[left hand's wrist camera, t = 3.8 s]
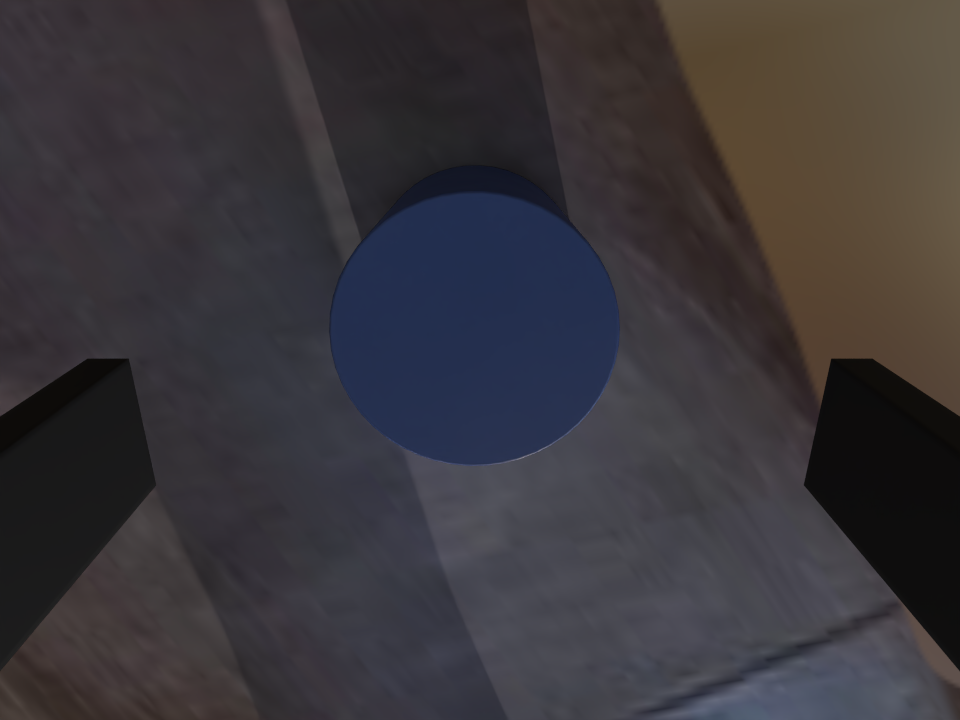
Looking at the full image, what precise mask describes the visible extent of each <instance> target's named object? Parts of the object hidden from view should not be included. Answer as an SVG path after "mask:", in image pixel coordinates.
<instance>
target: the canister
mask: <svg viewBox="0 0 960 720" xmlns="http://www.w3.org/2000/svg"><path fill="white" fill-rule="evenodd" d="M619 331H620V325H619V311H618V305H617V301H616V296H615V292H614V289H613V286H612V283H611V281H610V278H609V275H608V273H607V271H606V269H605V267H604V266H603V264H602V262H601V260H600V258H599V257H598V255H597V254H596V252H595V251H594V250H593V248H592V247H591V246H590V244H589V243H588V242H587V240H586V239H585V238H584V237H583V236H582V235H581V233H580V232H579V231H578V230H577V229H576V227H575V226H574V225H573V224H572V223H571V222H570V220H569V219H568V218H567V217H566V216H565V215H564V213H563V212H562V211H561V210H560V209H559V208H558V206H557V205H556V204H555V203H554V202H553V201H552V200H551V199H550V198H549V197H548V195H547V194H546V193H545V192H544V191H542V190H541V189H540V188H538V187H537V186H536V185H535V184H533V183H532V182H530V181H528V180H527V179H525V178H523V177H522V176H519V175H517V174H515V173H512V172H510V171H507V170H503V169H499V168H495V167H489V166H461V167H455V168H450V169H447V170H444V171H440V172H437V173H435V174H433V175H431V176H429V177H426V178H425V179H423V180H422V181H420V182H418V183H417V184H415V185H414V186H413V187H411V188H410V189H409V190H408V191H407V192H405V193H404V194H403V195H402V196H401V198H400V199H399V200H398V201H397V202H396V203H395V204H394V205H393V206H392V208H391V209H390V210H389V211H388V212H387V213H386V214H385V216H384V217H383V218H382V219H381V220H380V221H379V222H378V223H377V225H376V226H375V227H374V228H373V229H372V230H371V231H370V233H369V234H368V235H367V236H366V237H365V238H364V239H363V240H362V242H361V243H360V244H359V245H358V246H357V248H356V249H355V251H354V252H353V254H352V255H351V257H350V258H349V260H348V261H347V263H346V265H345V267H344V269H343V271H342V273H341V275H340V277H339V280H338V283H337V286H336V289H335V292H334V295H333V300H332V306H331V311H330V329H329V333H330V343H331V351H332V355H333V359H334V364H335V368H336V370H337V373H338V375H339V378H340V380H341V383H342V385H343V387H344V389H345V390H346V392H347V394H348V396H349V398H350V399H351V401H352V402H353V403H354V405H355V406H356V408H357V409H358V410H359V412H360V413H361V414H362V415H363V416H364V417H365V418H366V420H367V421H368V422H369V423H370V424H371V425H372V426H373V427H374V428H376V429H377V430H378V431H379V432H380V433H382V434H383V435H384V436H385V437H387V438H388V439H390V440H391V441H393V442H394V443H396V444H397V445H399V446H401V447H402V448H404V449H407V450H409V451H411V452H413V453H415V454H417V455H420V456H423V457H426V458H429V459H431V460H435V461H439V462H444V463H448V464H456V465H466V466H485V465H493V464H501V463H506V462H510V461H514V460H518V459H521V458H524V457H527V456H529V455H532V454H534V453H537V452H539V451H541V450H543V449H545V448H547V447H548V446H550V445H552V444H554V443H555V442H557V441H558V440H560V439H561V438H562V437H564V436H565V435H567V434H568V433H569V432H570V431H571V430H572V429H574V428H575V427H576V426H577V425H578V424H579V423H580V422H581V421H582V420H583V419H584V418H585V416H586V415H587V414H588V413H589V412H590V411H591V410H592V408H593V407H594V405H595V404H596V402H597V401H598V399H599V398H600V396H601V395H602V393H603V391H604V389H605V387H606V385H607V383H608V381H609V379H610V376H611V373H612V370H613V367H614V364H615V360H616V355H617V351H618V346H619Z"/></svg>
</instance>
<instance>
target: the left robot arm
mask: <svg viewBox="0 0 960 720" xmlns="http://www.w3.org/2000/svg"><path fill="white" fill-rule="evenodd" d="M155 486H156V482H155V478H154V473H153V468H152V464H151V459H150V455H149V450H148V445H147V441H146V436H145V432H144V427H143V423H142V418H141V413H140V409H139V404H138V400H137V395H136V390H135V386H134V381H133V377H132V372H131V367H130V363H129V359H86V360H85V361H83V362H82V363H80V364H79V365H77V366H76V367H74V368H73V369H71V370H70V371H68V372H67V373H65V374H64V375H62V376H61V377H59V378H58V379H56V380H55V381H53V382H52V383H50V384H49V385H47V386H46V387H44V388H43V389H41V390H40V391H38V392H37V393H35V394H34V395H32V396H31V397H29V398H28V399H26V400H25V401H23V402H22V403H20V404H19V405H17V406H15V407H14V408H12V409H11V410H9V411H8V412H6V413H5V414H3V415H2V416H0V671H1V669H2V668H3V667H4V666H5V665H6V663H7V662H8V661H9V660H10V659H11V658H12V656H13V655H14V654H15V653H16V652H17V650H18V649H19V648H20V647H21V646H22V644H23V643H24V642H25V641H26V640H27V638H28V637H29V636H30V635H31V634H32V632H33V631H34V630H35V629H36V628H37V627H38V625H39V624H40V623H41V622H42V621H43V619H44V618H45V617H46V616H47V615H48V613H49V612H50V611H51V610H52V609H53V607H54V606H55V605H56V604H57V603H58V601H59V600H60V599H61V598H62V597H63V595H64V594H65V593H66V592H67V591H68V590H69V588H70V587H71V586H72V585H73V584H74V582H75V581H76V580H77V579H78V578H79V576H80V575H81V574H82V573H83V572H84V570H85V569H86V568H87V567H88V566H89V564H90V563H91V562H92V561H93V560H94V559H95V557H96V556H97V555H98V554H99V553H100V551H101V550H102V549H103V548H104V547H105V545H106V544H107V543H108V542H109V541H110V539H111V538H112V537H113V536H114V535H115V533H116V532H117V531H118V530H119V529H120V528H121V526H122V525H123V524H124V523H125V522H126V520H127V519H128V518H129V517H130V516H131V514H132V513H133V512H134V511H135V510H136V508H137V507H138V506H139V505H140V504H141V502H142V501H143V500H144V499H145V498H146V497H147V495H148V494H149V493H150V492H151V491H152V489H153V488H154V487H155ZM804 486H805V487H806V488H807V489H808V491H809V492H810V493H811V494H812V495H813V497H814V498H815V499H816V500H817V501H818V502H819V504H820V505H821V506H822V507H823V508H824V510H825V511H826V512H827V513H828V514H829V516H830V517H831V518H832V519H833V520H834V522H835V523H836V524H837V525H838V526H839V528H840V529H841V530H842V531H843V532H844V533H845V535H846V536H847V537H848V538H849V539H850V541H851V542H852V543H853V544H854V545H855V547H856V548H857V549H858V550H859V551H860V553H861V554H862V555H863V556H864V557H865V559H866V560H867V561H868V562H869V563H870V564H871V566H872V567H873V568H874V569H875V570H876V572H877V573H878V574H879V575H880V576H881V578H882V579H883V580H884V581H885V582H886V584H887V585H888V586H889V587H890V588H891V590H892V591H893V592H894V593H895V594H896V596H897V597H898V598H899V599H900V600H901V601H902V603H903V604H904V605H905V606H906V607H907V609H908V610H909V611H910V612H911V613H912V615H913V616H914V617H915V618H916V619H917V620H918V622H919V623H920V624H921V625H922V626H923V628H924V629H925V630H926V631H927V632H928V634H929V635H930V636H931V637H932V638H933V640H934V641H935V642H936V643H937V644H938V646H939V647H940V648H941V649H942V650H943V652H944V653H945V654H946V655H947V656H948V657H949V659H950V660H951V661H952V662H953V663H954V665H955V666H956V667H957V668H958V669H959V671H960V416H958V415H957V414H955V413H954V412H952V411H951V410H949V409H947V408H946V407H944V406H943V405H941V404H940V403H938V402H937V401H935V400H934V399H932V398H931V397H929V396H928V395H926V394H925V393H923V392H922V391H920V390H919V389H917V388H916V387H914V386H913V385H911V384H910V383H908V382H907V381H905V380H904V379H902V378H901V377H899V376H898V375H896V374H895V373H893V372H892V371H890V370H889V369H887V368H886V367H884V366H883V365H881V364H880V363H878V362H876V361H875V360H874V359H831V363H830V367H829V372H828V377H827V381H826V386H825V390H824V395H823V400H822V404H821V409H820V413H819V418H818V422H817V427H816V432H815V436H814V441H813V445H812V450H811V455H810V459H809V464H808V468H807V473H806V478H805V482H804Z"/></svg>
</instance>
